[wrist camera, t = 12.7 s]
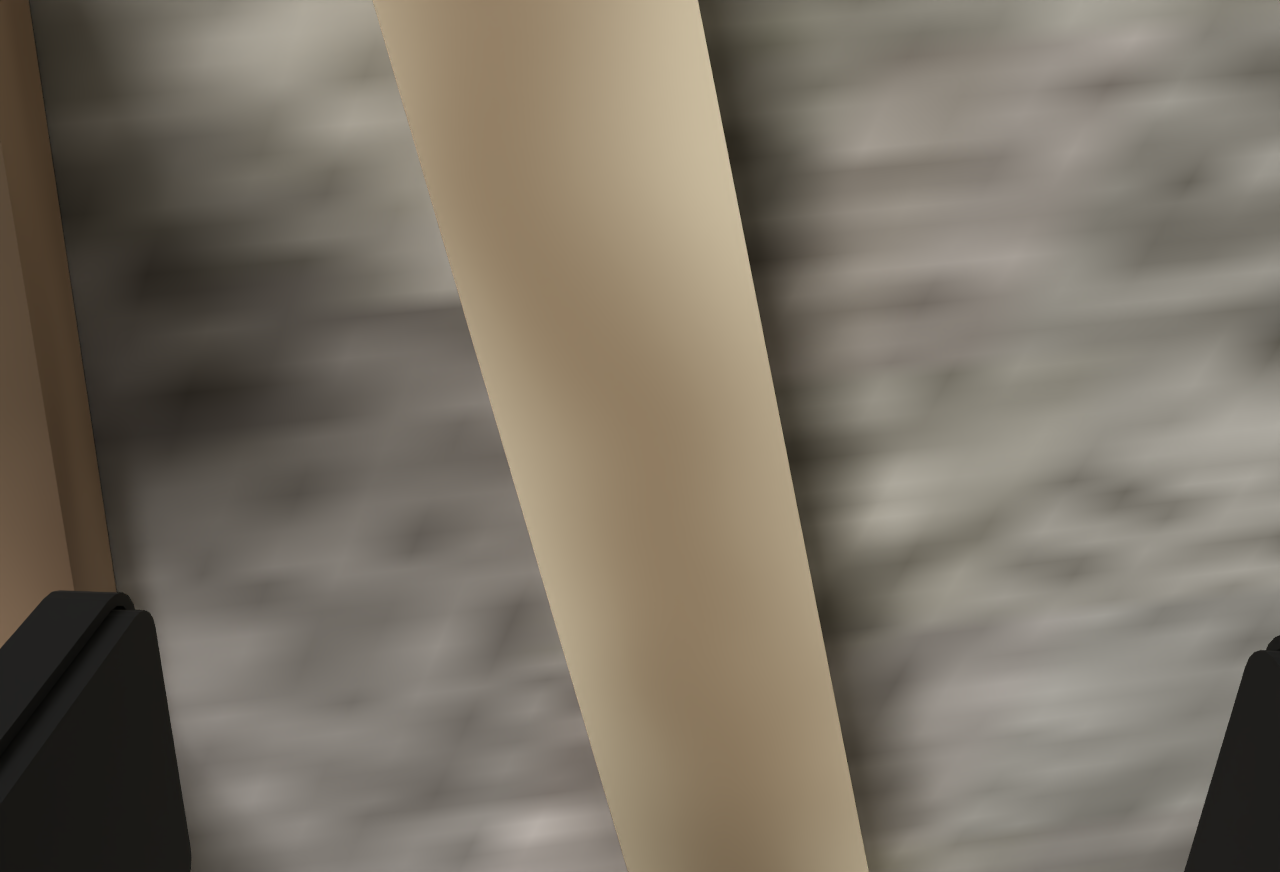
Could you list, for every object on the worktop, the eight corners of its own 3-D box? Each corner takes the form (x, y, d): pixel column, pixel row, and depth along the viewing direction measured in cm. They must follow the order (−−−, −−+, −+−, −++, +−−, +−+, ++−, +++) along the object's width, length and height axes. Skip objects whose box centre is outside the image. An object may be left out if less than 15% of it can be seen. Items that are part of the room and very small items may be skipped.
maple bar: (604, -420, 17) (594, -528, 13) (864, 887, 25) (903, 1046, 22) (332, -346, 17) (247, -431, 13) (682, 919, 26) (689, 1082, 22)
